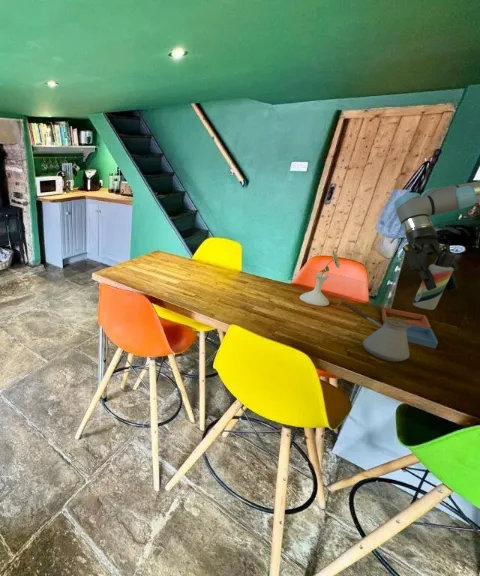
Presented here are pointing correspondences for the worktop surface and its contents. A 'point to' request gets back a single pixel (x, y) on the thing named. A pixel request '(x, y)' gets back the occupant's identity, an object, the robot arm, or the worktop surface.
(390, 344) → the coffee pot
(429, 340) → the blue tray
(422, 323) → the terracotta tray
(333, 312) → the worktop surface
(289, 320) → the worktop surface
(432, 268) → the lotion bottle
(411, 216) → the robot arm
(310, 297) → the flower in vase
